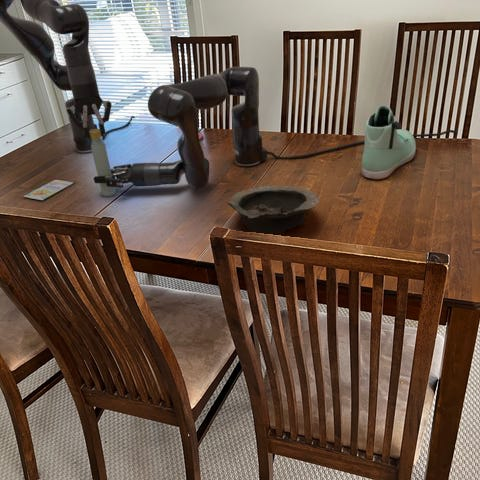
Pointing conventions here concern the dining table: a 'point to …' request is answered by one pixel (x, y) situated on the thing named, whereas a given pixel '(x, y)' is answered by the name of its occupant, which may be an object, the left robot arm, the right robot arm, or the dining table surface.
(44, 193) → the baking ingredient package
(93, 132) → the cap
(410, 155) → the sneaker
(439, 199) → the dining table surface
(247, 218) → the stone bowl
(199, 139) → the candy cane
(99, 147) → the bottle
